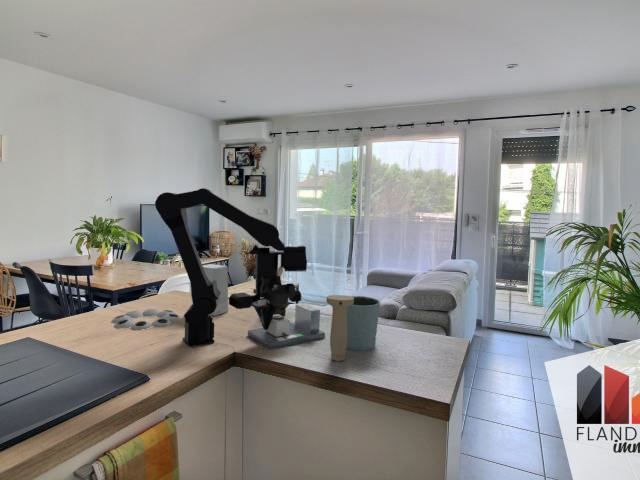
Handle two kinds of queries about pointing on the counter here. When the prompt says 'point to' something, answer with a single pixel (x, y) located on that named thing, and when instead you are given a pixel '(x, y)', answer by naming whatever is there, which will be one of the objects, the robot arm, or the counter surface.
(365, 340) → the teal cup
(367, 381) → the counter surface
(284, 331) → the white box with dome
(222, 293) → the skincare box
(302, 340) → the bench
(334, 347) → the handle
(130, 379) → the counter surface
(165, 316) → the grey flat openwork piece
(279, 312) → the industrial component
